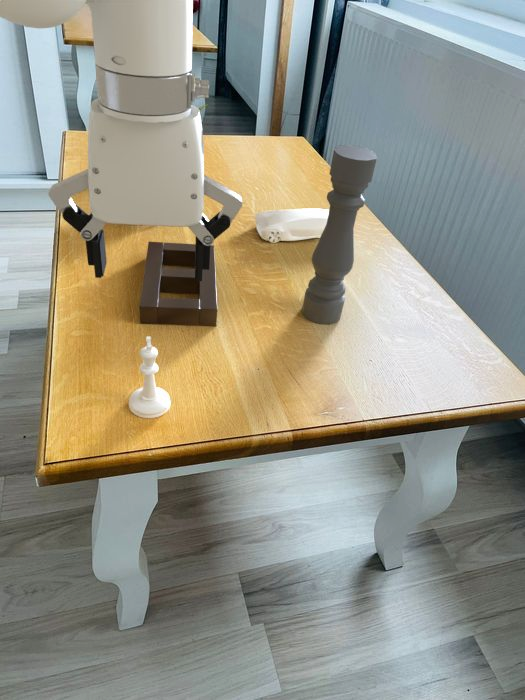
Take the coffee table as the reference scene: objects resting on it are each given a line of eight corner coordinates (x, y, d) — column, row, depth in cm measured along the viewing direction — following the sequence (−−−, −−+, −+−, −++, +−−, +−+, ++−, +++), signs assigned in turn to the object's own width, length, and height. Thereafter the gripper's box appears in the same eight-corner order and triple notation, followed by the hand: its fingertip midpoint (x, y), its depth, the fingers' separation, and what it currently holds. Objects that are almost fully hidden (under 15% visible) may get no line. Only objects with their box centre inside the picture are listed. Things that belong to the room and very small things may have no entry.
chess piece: (130, 420, 64) (127, 353, 58) (127, 392, 68) (123, 325, 61) (173, 415, 65) (174, 349, 59) (167, 388, 69) (168, 323, 63)
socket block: (139, 323, 79) (139, 306, 77) (148, 257, 94) (148, 241, 92) (216, 326, 80) (217, 309, 79) (213, 260, 95) (214, 245, 94)
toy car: (261, 243, 102) (263, 220, 100) (252, 224, 108) (255, 202, 106) (351, 243, 107) (356, 222, 104) (339, 225, 113) (343, 204, 110)
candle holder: (301, 299, 89) (330, 141, 73) (339, 304, 89) (376, 147, 74) (302, 321, 84) (333, 157, 69) (342, 326, 84) (382, 163, 69)
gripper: (246, 87, 49) (234, 257, 60) (43, 70, 47) (67, 251, 57) (254, 112, 43) (238, 295, 54) (22, 94, 41) (53, 290, 52)
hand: (150, 272), depth 56 cm, fingers open, 9 cm apart
